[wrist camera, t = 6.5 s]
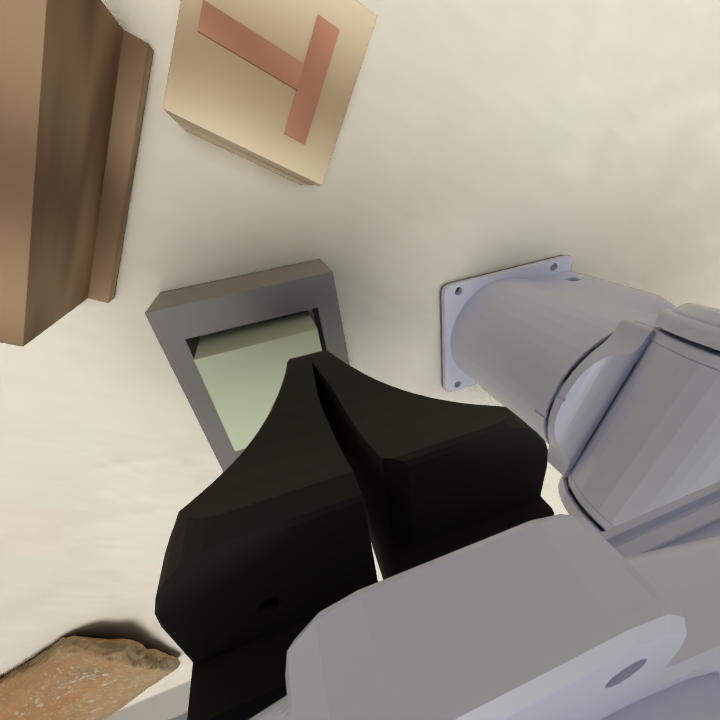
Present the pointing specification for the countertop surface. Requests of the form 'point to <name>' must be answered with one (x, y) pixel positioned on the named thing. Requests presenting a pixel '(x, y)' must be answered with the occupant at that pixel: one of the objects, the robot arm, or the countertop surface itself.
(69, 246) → the screen
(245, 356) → the cap sage
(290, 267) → the button panel
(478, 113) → the countertop surface
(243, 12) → the cube
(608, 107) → the countertop surface
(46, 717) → the stone
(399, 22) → the countertop surface
